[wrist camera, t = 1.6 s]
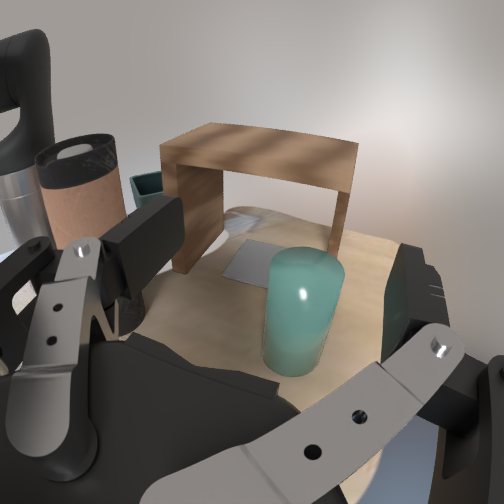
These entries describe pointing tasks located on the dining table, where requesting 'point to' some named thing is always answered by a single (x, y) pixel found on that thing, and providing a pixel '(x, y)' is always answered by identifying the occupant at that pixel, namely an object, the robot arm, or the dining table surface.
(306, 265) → the teal glossy cylinder
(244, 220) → the dining table surface
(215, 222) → the brown wooden shelf stand
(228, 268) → the mat
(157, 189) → the flower pot
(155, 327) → the dining table surface
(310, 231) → the dining table surface
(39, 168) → the travel mug
